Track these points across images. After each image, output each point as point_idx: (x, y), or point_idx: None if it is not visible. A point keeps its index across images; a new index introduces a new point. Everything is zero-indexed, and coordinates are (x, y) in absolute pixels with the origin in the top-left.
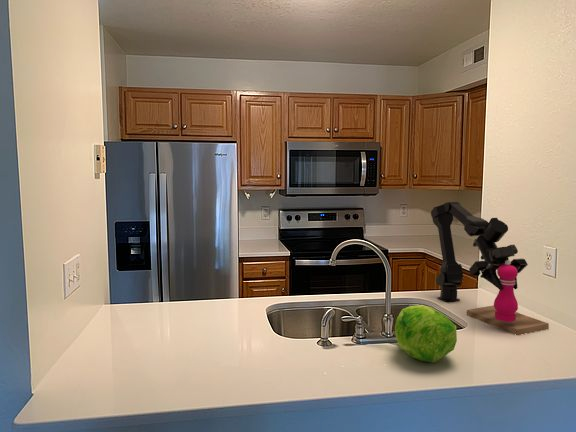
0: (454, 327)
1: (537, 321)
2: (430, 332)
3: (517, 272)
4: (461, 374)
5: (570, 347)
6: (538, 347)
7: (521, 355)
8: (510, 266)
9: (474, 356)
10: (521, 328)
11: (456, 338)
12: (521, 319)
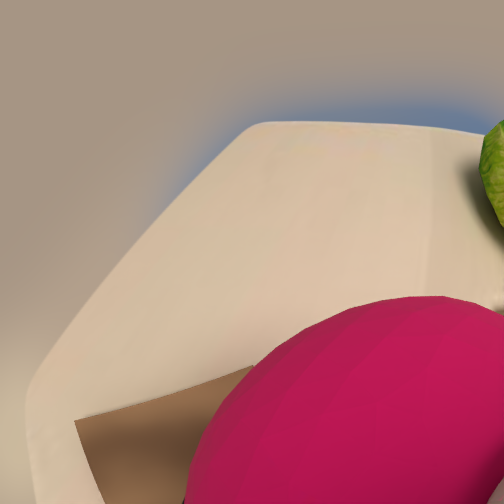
0: (501, 126)
1: (104, 453)
2: None
3: (226, 397)
4: (447, 153)
5: (129, 253)
6: (233, 256)
7: (316, 207)
8: (482, 378)
9: (430, 211)
10: (226, 378)
11: (486, 137)
12: (162, 489)
